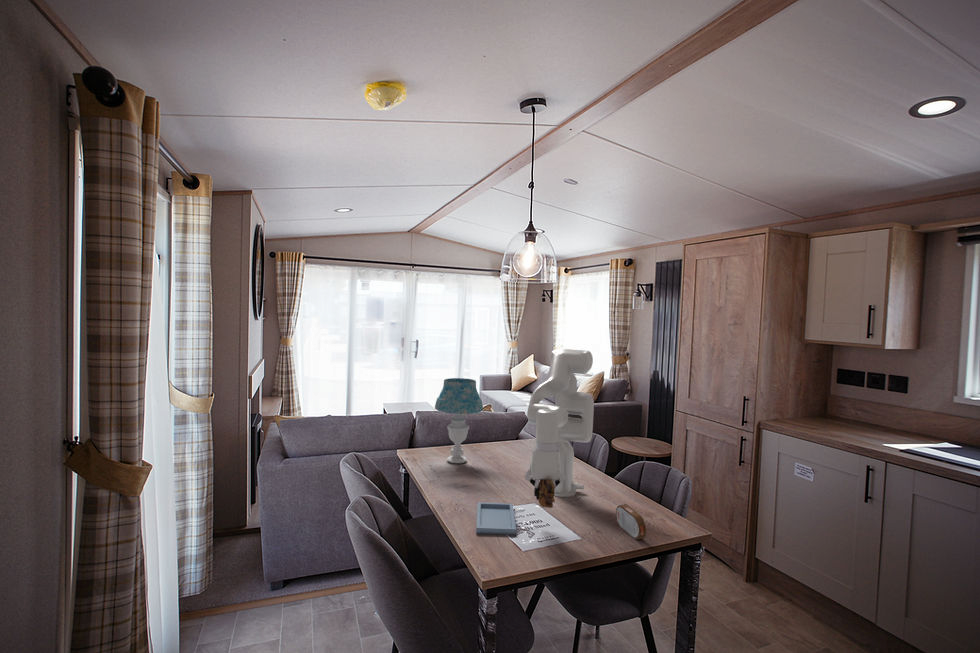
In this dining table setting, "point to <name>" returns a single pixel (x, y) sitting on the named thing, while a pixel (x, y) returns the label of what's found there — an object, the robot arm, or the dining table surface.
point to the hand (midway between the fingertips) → (544, 497)
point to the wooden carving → (546, 493)
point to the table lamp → (458, 411)
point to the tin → (631, 521)
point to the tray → (495, 518)
